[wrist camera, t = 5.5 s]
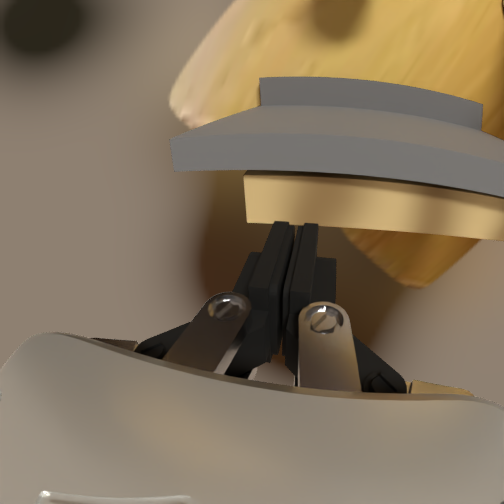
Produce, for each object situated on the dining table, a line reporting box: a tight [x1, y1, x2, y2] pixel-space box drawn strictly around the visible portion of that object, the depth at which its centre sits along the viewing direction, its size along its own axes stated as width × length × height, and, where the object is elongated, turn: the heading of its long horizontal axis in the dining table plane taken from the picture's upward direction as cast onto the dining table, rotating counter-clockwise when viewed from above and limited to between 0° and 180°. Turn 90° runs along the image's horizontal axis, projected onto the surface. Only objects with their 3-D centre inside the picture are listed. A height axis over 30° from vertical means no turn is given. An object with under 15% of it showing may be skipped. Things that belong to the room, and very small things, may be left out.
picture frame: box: [243, 170, 504, 241], centre depth 21 cm, size 24×3×18 cm, turn 93°
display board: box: [170, 77, 504, 197], centre depth 22 cm, size 32×10×26 cm, turn 93°
